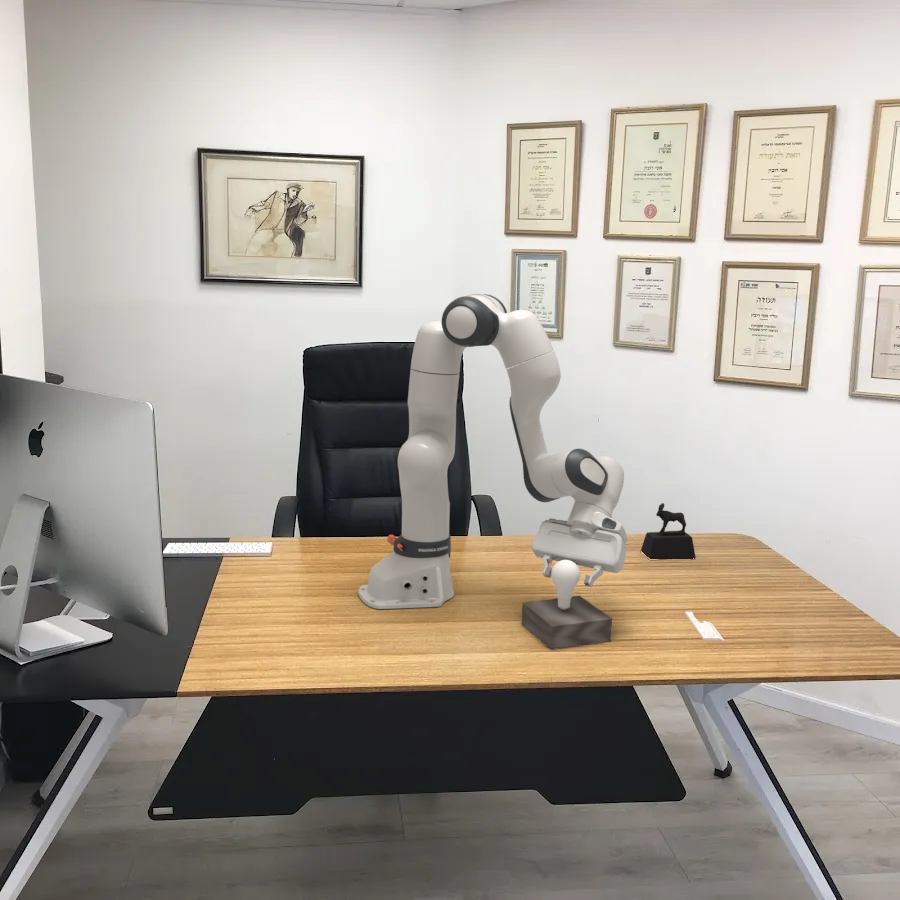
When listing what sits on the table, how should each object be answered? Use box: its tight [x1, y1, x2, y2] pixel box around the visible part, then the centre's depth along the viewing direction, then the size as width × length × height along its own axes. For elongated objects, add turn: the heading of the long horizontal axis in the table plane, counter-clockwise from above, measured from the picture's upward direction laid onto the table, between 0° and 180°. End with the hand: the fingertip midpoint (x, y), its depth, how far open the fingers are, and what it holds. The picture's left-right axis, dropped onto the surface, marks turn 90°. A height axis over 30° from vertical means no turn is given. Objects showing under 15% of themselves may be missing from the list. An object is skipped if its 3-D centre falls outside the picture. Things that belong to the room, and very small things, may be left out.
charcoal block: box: [521, 595, 613, 650], centre depth 198 cm, size 14×14×5 cm
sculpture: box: [640, 502, 696, 560], centre depth 251 cm, size 8×13×15 cm, turn 97°
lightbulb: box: [551, 560, 581, 610], centre depth 197 cm, size 6×6×11 cm
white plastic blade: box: [684, 611, 725, 642], centre depth 204 cm, size 5×15×1 cm, turn 1°
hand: (566, 580), depth 196 cm, fingers open, 8 cm apart
